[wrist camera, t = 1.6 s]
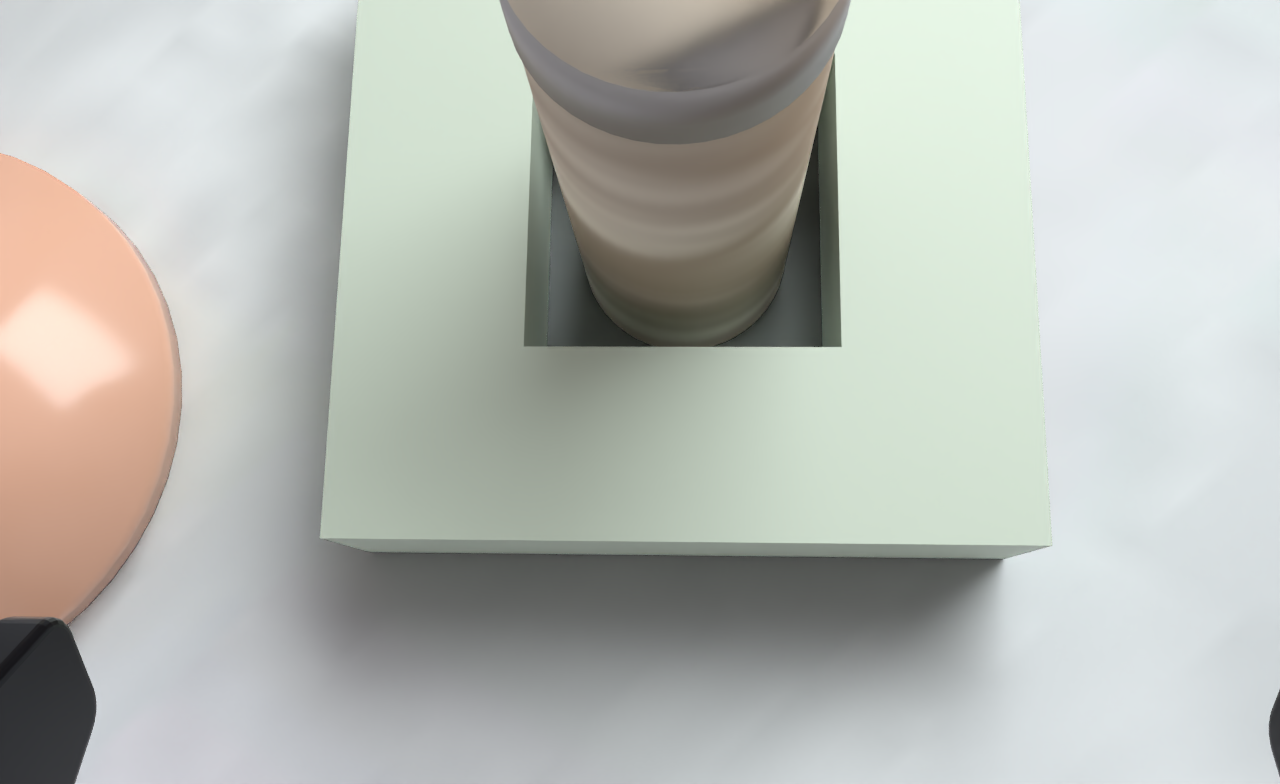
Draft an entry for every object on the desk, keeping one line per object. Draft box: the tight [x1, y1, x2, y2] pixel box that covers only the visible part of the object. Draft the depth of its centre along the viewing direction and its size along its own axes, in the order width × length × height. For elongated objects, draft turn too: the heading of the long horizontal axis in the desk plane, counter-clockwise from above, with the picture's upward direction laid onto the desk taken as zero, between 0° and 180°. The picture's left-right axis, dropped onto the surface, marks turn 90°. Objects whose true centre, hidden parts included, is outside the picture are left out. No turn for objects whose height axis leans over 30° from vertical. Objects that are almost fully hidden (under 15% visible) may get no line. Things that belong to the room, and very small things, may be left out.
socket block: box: [320, 0, 1052, 559], centre depth 22 cm, size 12×12×3 cm
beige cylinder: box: [499, 0, 851, 347], centre depth 18 cm, size 4×4×11 cm
